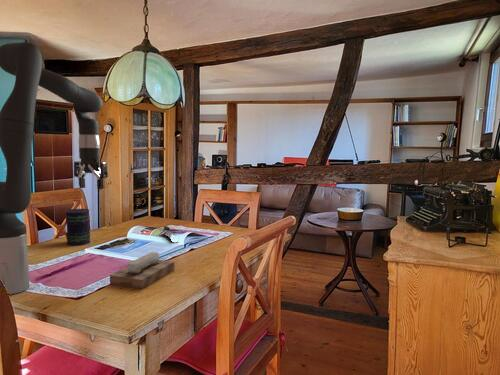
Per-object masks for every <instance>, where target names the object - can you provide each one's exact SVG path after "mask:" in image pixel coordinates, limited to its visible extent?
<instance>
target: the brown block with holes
mask: <svg viewBox="0 0 500 375" xmlns="http://www.w3.org/2000/svg"><path fill="white" fill-rule="evenodd" d="M173 271H175V261H173V260H162V259H159V260H158V265H156V266H149V265H148V266H146V267H144V268H142V269H141V274H139V275H131V274H129V271H128V269H127V266H126V267H124V268H122V269H120V270H118V271H116V272H114V273H111V274H110V275H109V284H110V285H112V286H118V287H125V288H131V289H139V290H143V289H145V288H147V287H149V286H150V285H151V284H153V283H155V282H156V281H158V280H160V279H162V278H164V276H167V275H169V274H170V273H171V272H173Z"/></svg>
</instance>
